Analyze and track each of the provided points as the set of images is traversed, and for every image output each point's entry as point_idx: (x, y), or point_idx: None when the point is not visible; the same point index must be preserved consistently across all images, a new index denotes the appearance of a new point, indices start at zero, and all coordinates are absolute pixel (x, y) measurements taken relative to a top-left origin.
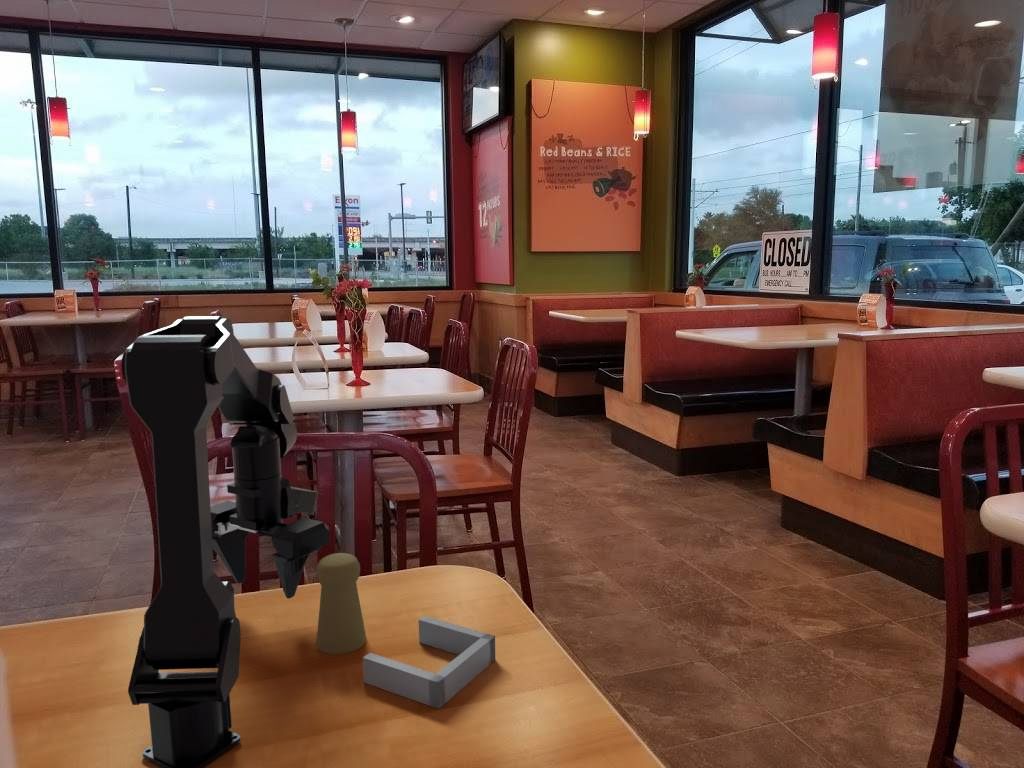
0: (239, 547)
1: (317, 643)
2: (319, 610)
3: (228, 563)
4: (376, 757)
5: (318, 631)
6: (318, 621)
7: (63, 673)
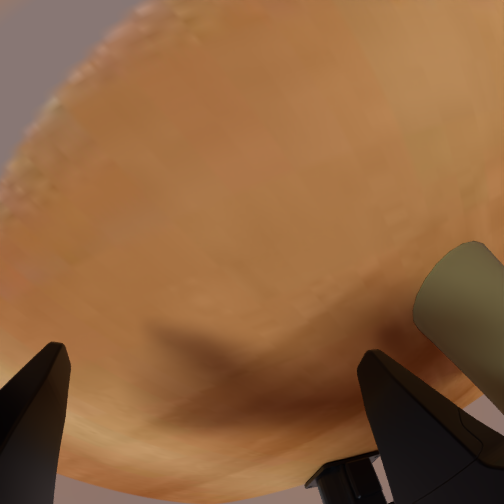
0: (7, 498)
1: (422, 332)
2: (466, 374)
3: (54, 477)
4: (480, 395)
5: (439, 348)
6: (448, 355)
7: (84, 470)
